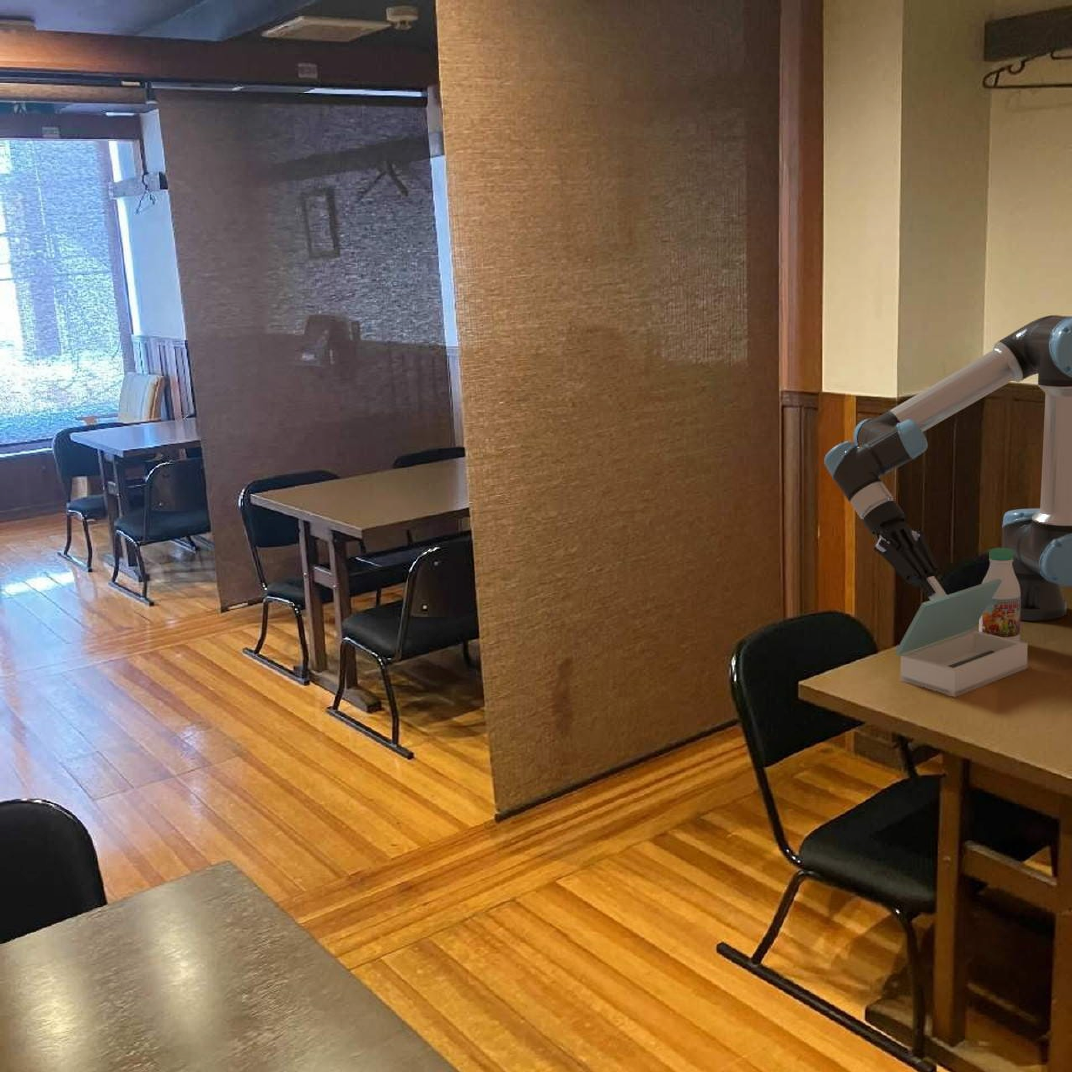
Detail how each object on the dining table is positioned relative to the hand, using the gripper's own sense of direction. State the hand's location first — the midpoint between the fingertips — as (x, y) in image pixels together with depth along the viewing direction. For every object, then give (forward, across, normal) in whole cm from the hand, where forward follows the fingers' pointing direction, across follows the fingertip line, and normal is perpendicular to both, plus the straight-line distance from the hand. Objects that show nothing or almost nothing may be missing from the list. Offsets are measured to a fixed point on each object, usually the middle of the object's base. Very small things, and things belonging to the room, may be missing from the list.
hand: (946, 608), depth 220 cm
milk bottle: (+8, -20, -10) cm, 24 cm away
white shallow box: (+12, -1, -6) cm, 13 cm away
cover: (+2, -1, -1) cm, 2 cm away
